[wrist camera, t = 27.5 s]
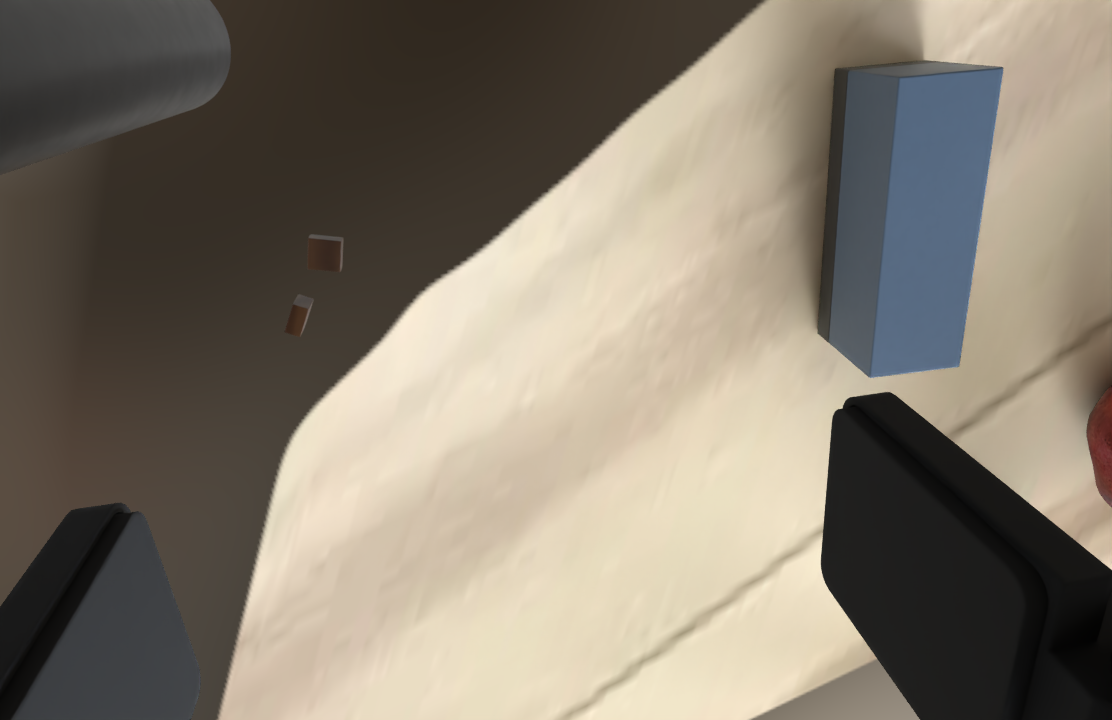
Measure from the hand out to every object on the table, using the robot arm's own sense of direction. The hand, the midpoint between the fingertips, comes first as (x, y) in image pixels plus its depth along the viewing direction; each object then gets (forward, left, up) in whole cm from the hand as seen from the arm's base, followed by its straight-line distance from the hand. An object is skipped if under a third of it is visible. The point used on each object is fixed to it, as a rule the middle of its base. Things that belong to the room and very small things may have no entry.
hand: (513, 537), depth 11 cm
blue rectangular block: (+18, -3, -24) cm, 30 cm away
